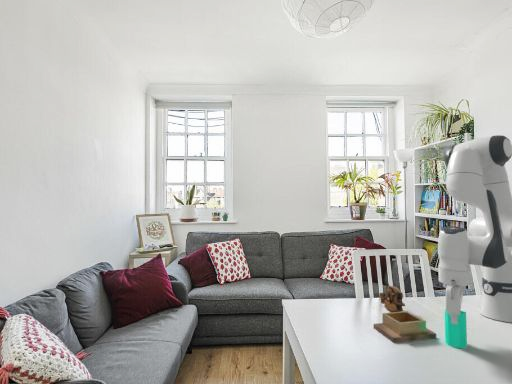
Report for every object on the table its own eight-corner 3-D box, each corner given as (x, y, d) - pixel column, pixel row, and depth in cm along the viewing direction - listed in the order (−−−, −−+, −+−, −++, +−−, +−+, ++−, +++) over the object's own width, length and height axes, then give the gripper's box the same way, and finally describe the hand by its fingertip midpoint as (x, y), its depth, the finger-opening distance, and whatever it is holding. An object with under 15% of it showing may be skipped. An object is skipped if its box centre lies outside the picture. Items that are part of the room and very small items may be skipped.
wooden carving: (375, 304, 142) (375, 282, 143) (385, 303, 143) (384, 281, 143) (399, 318, 126) (398, 292, 126) (409, 317, 127) (408, 291, 127)
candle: (470, 348, 100) (469, 310, 100) (449, 347, 101) (448, 309, 101) (462, 340, 106) (461, 304, 106) (442, 339, 107) (441, 303, 107)
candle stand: (412, 324, 120) (412, 309, 120) (436, 338, 108) (435, 321, 108) (373, 328, 117) (373, 312, 117) (393, 342, 105) (392, 325, 105)
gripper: (464, 286, 94) (465, 333, 93) (466, 272, 110) (467, 312, 110) (439, 283, 97) (440, 329, 97) (445, 270, 114) (446, 309, 114)
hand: (455, 320), depth 104 cm, fingers closed on candle, 5 cm apart
